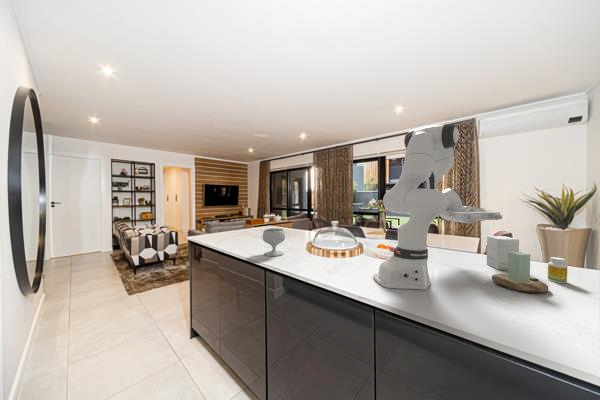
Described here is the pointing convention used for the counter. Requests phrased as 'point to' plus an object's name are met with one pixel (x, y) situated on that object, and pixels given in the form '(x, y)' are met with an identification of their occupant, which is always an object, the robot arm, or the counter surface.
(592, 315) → the counter surface
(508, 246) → the supplement box
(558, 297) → the counter surface
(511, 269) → the spindle block
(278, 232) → the chalice
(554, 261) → the supplement bottle
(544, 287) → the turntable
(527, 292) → the base
